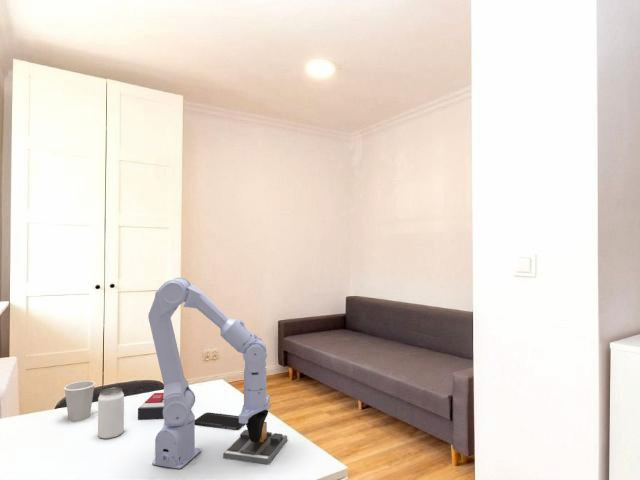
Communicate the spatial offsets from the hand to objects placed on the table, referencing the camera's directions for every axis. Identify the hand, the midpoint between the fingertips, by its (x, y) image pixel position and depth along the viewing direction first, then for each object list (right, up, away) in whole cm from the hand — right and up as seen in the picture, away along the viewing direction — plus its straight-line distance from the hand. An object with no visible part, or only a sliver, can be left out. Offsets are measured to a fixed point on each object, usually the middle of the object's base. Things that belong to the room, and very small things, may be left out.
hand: (255, 440), depth 105 cm
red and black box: (-34, -4, +27) cm, 44 cm away
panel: (0, -2, +1) cm, 3 cm away
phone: (-13, -4, +17) cm, 22 cm away
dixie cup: (-57, -4, +21) cm, 61 cm away
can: (-42, -3, +10) cm, 43 cm away
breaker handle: (+1, -1, +3) cm, 3 cm away
